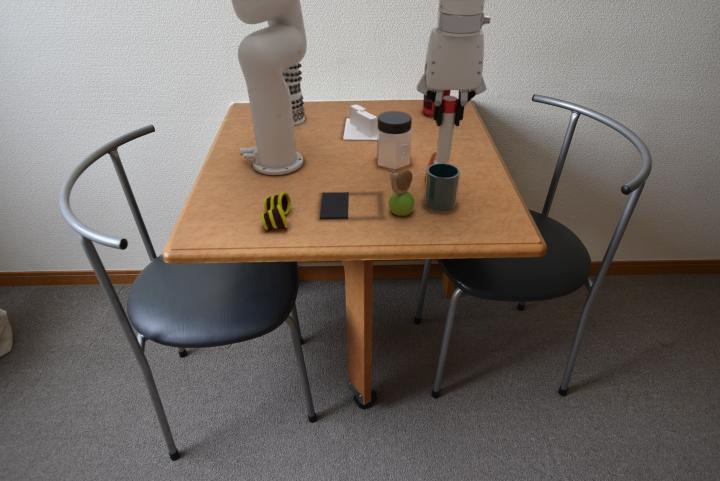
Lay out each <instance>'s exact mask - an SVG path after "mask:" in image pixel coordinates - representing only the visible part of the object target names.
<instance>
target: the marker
mask: <svg viewBox="0 0 720 481" xmlns="http://www.w3.org/2000/svg"><path fill="white" fill-rule="evenodd" d="M457 99H458V96H455V95H450V96H444V97H443V99H442V105H443V115H442V124H441V125H440V126H438V127H439V128H438V137H437V146H436V152H437V154H436V161H438V162H440V163H447V164H448V163H449V162H450V161H451V160H450V159H451V154H452V153H451V151H452V145H453V137H454V129H455V124H454V123H455V115H456V107H457Z"/></svg>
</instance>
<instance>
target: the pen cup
mask: <svg viewBox="0 0 720 481" xmlns="http://www.w3.org/2000/svg"><path fill="white" fill-rule="evenodd" d="M428 166H429V165H428ZM428 166H427V168H426V172H425V176H426V184H425V183H424V196H423V198H424V199H423V204H424V205H425V207H426V208H428V209H429V210H432V211H435V212H447V211H451V210H453V209H454V208H455V207H456V205H457V198H458V192H459V184H460V178H461V177H460V176H461V170H460V168H459V167H458V166H456V165H455V164H452V163H448V162H447V163H436V164H432V165H430V166H429V167H428Z"/></svg>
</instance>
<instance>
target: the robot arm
mask: <svg viewBox="0 0 720 481" xmlns="http://www.w3.org/2000/svg"><path fill="white" fill-rule="evenodd" d="M485 1H486V0H438V8H437V22H436V27H433V28H432V29H431V31H430V35H429V38H428V44H427V51H426V54H425V55H426V56H425V62H424V71H423V74H422V76H421V77H420V79H419V81H418V83H417V85H416V86H415V87H416V90H417V92H418V93H420V94H422V95H423V96H424V95H426V96H428V97H429V98H430V100H431V101H432V102H433V103H434V111H433V117H432V121H435V123H436V126H437V127H440V125H441V124H442V115H443V105H442V96H443V91H444V90H451V91H458V96H457V107H456V115H455V123H454V126H456V127H460V123H461V121H463V119H464V113H465V107H466V106H467V105H468V103H469V102H470V101H471V100H473V99H474V98H475V97H476V96H479V95H480V94H483V93H485V92H486V91H487V86H486V83H485V80H484V76H483V71H484V59H485V58H484V56H485V34H484V33H485V32H484V30H483V27H484V25H487V24H488V25H489V24H490V23H491V18H492V17H491V15H489V14H485V12H484V7H485ZM231 4H232V9H233V11H234V13H235V15H236V17H237V18H238V19H239V21H241V23H244V24H246V25H258V24H261V23H265V22H267V26H265V27H264V28H260V29H257V30H255V31H252V32H251V33H249V34H247V35H245V36H244V38H243V39H242V40H241V41H240V43H239V45H238V49H237V59H238V63H239V67H240V69H241V72H242V75H243V77H244V81H245V85H246V89H247V95H248V100H249V107H250V112H251V119H252V124H253V132H254V139H255V145H256V146H252V147H240V149H239V152H240V156H242V158H243V160H250V159H251V160H252V167H253V168H254V170H255V171H256V172H258V173H260V174H263V175H267V176H281V175H288V174H291V173H293V172H296V171H297V170H299V169H300V168H301V167H302V166H303V165H304V156H303V155H302V153H300V152H299V151H297V146H296V145H297V144H296V135H295V125H294V124H293V114H292V104H291V96H290V90H289V87H288V85H287V83H286V82H285V80H284V78H283V75H282V72H283V71H284V70H286V69H288V68H290V67H292V66H294V65H295V64H297V63H300V62H302V60H303V59H304V58H305V55H306V53H307V47H308V44H307V43H308V42H307V36H306V35H307V33H306V29H305V22H304V17H303V11H302V4H301V0H231ZM426 85H427V87H426ZM432 89H433V90H434V91H433V90H432Z"/></svg>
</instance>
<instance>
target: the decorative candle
mask: <svg viewBox="0 0 720 481" xmlns="http://www.w3.org/2000/svg"><path fill="white" fill-rule="evenodd" d="M302 66H303V65H302V63H300V62H299V63H297V64H295V65H294V66H292V67H290V68H288V69H286V70H284V71H283V72H282V75H283V78H284V80H285V82H286V83H287V85H288V87H289V90H290V96H291V104H292V114H293V124H294V126H297V125H300V124H302V123H304V122H305V120H306V118H305V116H306V114H305V107H304V106H303V105H305V102H304V96H303V91H302V88H301V82H302V80H303V77H302V76H301V75H302V74H303V72H302V71H301V70H300V68H302Z"/></svg>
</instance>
